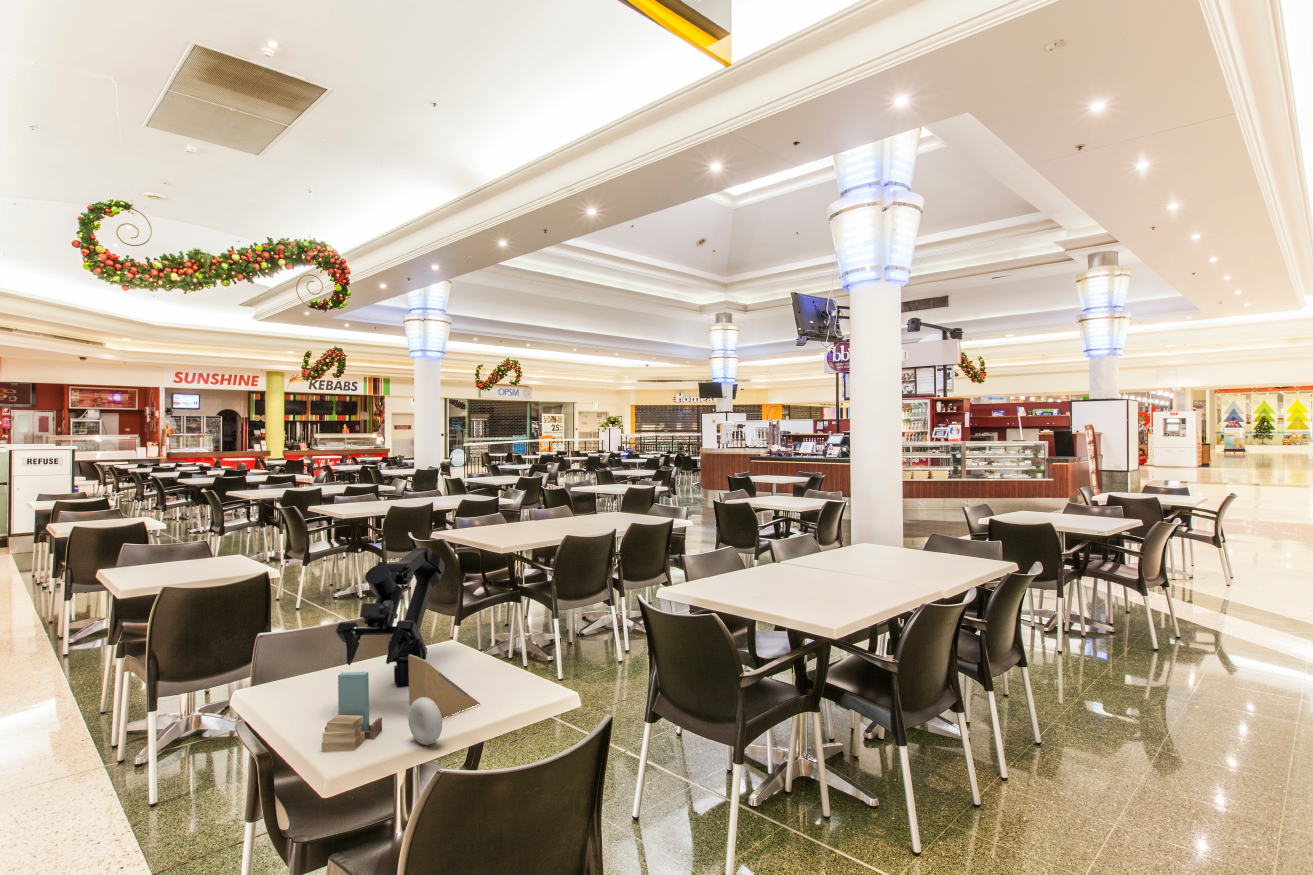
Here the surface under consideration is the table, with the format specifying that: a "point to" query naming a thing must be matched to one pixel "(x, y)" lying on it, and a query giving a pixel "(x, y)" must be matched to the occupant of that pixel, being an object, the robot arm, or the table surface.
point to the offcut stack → (343, 733)
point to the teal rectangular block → (354, 696)
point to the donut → (425, 720)
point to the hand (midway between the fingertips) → (367, 663)
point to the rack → (372, 729)
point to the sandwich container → (436, 688)
